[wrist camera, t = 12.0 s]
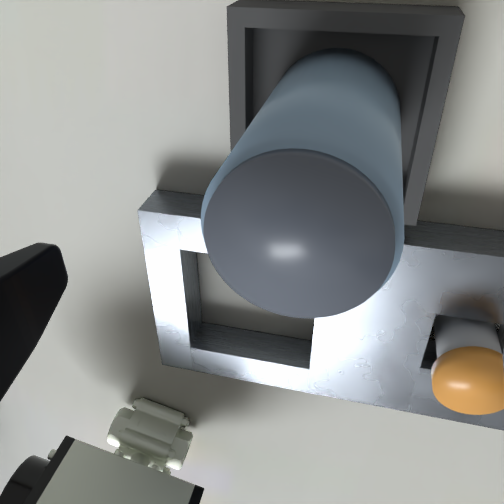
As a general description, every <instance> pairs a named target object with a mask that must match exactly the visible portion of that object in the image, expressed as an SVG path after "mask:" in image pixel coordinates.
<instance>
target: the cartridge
mask: <svg viewBox="0 0 504 504" xmlns="http://www.w3.org/2000/svg"><path fill="white" fill-rule="evenodd" d="M201 228H202V235H203V238H204V242H205V246H206V249H207V253H208V255H209V258H210V260H211V262H212V264H213V266H214V267H215V269H216V271H217V272H218V274H219V275H220V276H221V278H222V279H223V280H224V281H225V282H226V283H227V284H228V285H229V287H230V288H231V289H233V290H234V291H235V292H236V293H237V294H239V295H240V296H241V297H243V298H244V299H246V300H247V301H249V302H250V303H252V304H254V305H256V306H258V307H260V308H262V309H265V310H267V311H270V312H273V313H276V314H279V315H284V316H288V317H295V318H324V317H329V316H334V315H338V314H341V313H344V312H347V311H349V310H351V309H353V308H356V307H357V306H359V305H361V304H362V303H364V302H365V301H367V300H368V299H369V298H370V297H372V296H373V295H374V294H375V293H376V292H377V291H379V290H380V289H381V288H382V287H383V286H384V285H385V284H386V283H387V281H388V280H389V279H390V277H391V276H392V275H393V273H394V272H395V270H396V268H397V266H398V264H399V261H400V258H401V255H402V252H403V246H404V239H405V238H404V205H403V176H402V146H401V116H400V100H399V95H398V91H397V88H396V86H395V84H394V82H393V80H392V78H391V76H390V75H389V73H388V72H387V71H386V70H385V69H384V67H383V66H382V65H381V64H379V63H378V62H377V61H376V60H375V59H373V58H371V57H370V56H368V55H366V54H364V53H361V52H359V51H356V50H352V49H347V48H328V49H322V50H319V51H315V52H313V53H311V54H308V55H306V56H305V57H303V58H301V59H300V60H298V61H297V62H296V63H295V64H293V65H292V66H291V67H290V68H289V69H288V70H287V72H286V73H285V74H284V76H283V77H282V78H281V80H280V81H279V83H278V84H277V86H276V87H275V89H274V90H273V92H272V93H271V94H270V96H269V97H268V99H267V100H266V102H265V103H264V105H263V106H262V108H261V109H260V111H259V112H258V113H257V115H256V116H255V118H254V119H253V121H252V122H251V124H250V125H249V127H248V128H247V129H246V131H245V132H244V134H243V135H242V137H241V138H240V140H239V141H238V143H237V144H236V145H235V147H234V148H233V150H232V151H231V153H230V154H229V156H228V157H227V159H226V160H225V162H224V163H223V164H222V166H221V167H220V169H219V170H218V172H217V173H216V175H215V176H214V178H213V179H212V180H211V182H210V184H209V186H208V188H207V190H206V193H205V196H204V199H203V202H202V209H201Z"/></svg>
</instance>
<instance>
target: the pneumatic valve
mask: <svg viewBox="0 0 504 504" xmlns="http://www.w3.org/2000/svg"><path fill="white" fill-rule="evenodd" d="M132 407H133V408H134V409H136V410H135V411H133V410H131V409H128V408H125V407H124V408H121V409H120V410H119V411H118V413H117V414H116V416H115V418H114V420H113V422H112V424H111V427H110V429H109V432H108V436H107V441H108V443H109V444H111V445H114V446H116V447H119V449H116V451H115V453H114V454H113V453H111V452H108V451H106V450H103V449H100V448H98V447H95V446H92V445H90V444H87V443H85V442H82V441H79V440H77V439H74V438H72V437H69V436H66V437H65V438H64V440H63V441H62V443H61V444H60V446H59V448H58V449H57V451H56V450H54V449H52V450H51V451H50V453H49V455H48V459H50V461H48V460H46V459H43V458H40V457H38V456H35V455H33V456H30V457H29V458H27V459H26V460H25V461H24V462H23V463H22V464H21V465H20V466H19V467H18V469H17V470H16V471H15V473H14V474H13V475H12V477H11V478H10V480H9V481H8V483H7V485H6V486H5V488H4V490H3V492H2V494H1V495H0V504H199V503H200V500H201V497H202V494H203V491H204V488H202V487H200V486H197V485H194V484H192V483H189V482H187V481H184V480H181V479H179V478H176V477H174V476H171V475H170V474H171V472H170V469H169V468H166V467H165V466H169V467H171V468H174V469H177V470H179V469H181V467H182V465H183V462H184V460H185V457H186V454H187V452H188V449H189V446H190V444H191V441H192V438H193V435H192V433H191V432H189V431H186V430H184V429H181V428H180V427H181V426H182V427H184V428H185V427H186V426H188V425H189V422H190V421H188V418H187V417H185V416H184V413H182V412H179V411H176V410H174V409H171V408H168V407H166V406H163V405H160V404H158V403H155V402H152V401H150V400H147V399H144V398H141V399H135V401H134V403H133V406H132ZM192 491H193V492H192Z"/></svg>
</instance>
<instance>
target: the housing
mask: <svg viewBox="0 0 504 504" xmlns="http://www.w3.org/2000/svg"><path fill="white" fill-rule="evenodd" d="M203 199H204V195H196V194H187V193H179V192H170V191H162V190H155V191H154V192H153V193H152V194H151V196H150V197H149V198H148V199H147V200H146V201H145V203H144V204H143V205H142V206H141V207H140V208H139V209H138V216H139V222H140V228H141V235H142V241H143V247H144V253H145V260H146V266H147V272H148V278H149V285H150V291H151V297H152V303H153V310H154V316H155V322H156V328H157V335H158V341H159V347H160V354H161V360H162V365H167V366H172V367H178V368H183V369H188V370H193V371H198V372H204V373H209V374H214V375H219V376H224V377H229V378H235V379H240V380H245V381H250V382H255V383H261V384H266V385H271V386H276V387H281V388H286V389H292V390H297V391H302V392H307V393H312V394H317V395H323V396H328V397H333V398H338V399H343V400H349V401H354V402H359V403H364V404H369V405H374V406H380V407H385V408H390V409H395V410H400V411H406V412H411V413H416V414H421V415H426V416H431V417H437V418H442V419H447V420H452V421H457V422H463V423H468V424H473V425H478V426H483V427H488V428H494V429H499V430H504V409H503V410H501V411H498V412H495V413H491V414H484V415H470V414H464V413H459V412H456V411H453V410H451V409H449V408H447V407H445V406H444V405H442V404H441V403H440V402H439V401H438V400H437V399H436V397H435V395H434V393H433V389H432V378H431V369H432V366H433V363H434V362H435V360H436V359H437V352H436V342H435V341H434V340H428V339H429V336H430V332H431V329H432V326H433V322H434V319H435V316H436V314H438V315H445V316H451V317H458V318H464V319H471V320H477V321H484V322H490V323H497V324H501V325H500V328H499V330H498V332H497V335H498V339H499V343H500V347H501V351H502V354H503V350H504V231H500V230H492V229H483V228H475V227H466V226H458V225H449V224H441V223H433V222H424V221H417V223H416V226H413V225H405V224H404V238H405V239H404V246H403V252H402V255H401V258H400V261H399V264H398V266H397V268H396V270H395V272H394V273H393V275H392V276H391V277H390V279H389V280H388V281H387V283H386V284H385V285H384V286H383V287H382V288H381V289H380V290H379V291H377V292H376V293H375V294H374V295H373V296H372V297H370V298H369V299H368V300H367V301H365V302H364V303H362V304H361V305H359V306H357V307H356V308H353V309H351V310H349V311H347V312H344V313H341V314H338V315H334V316H329V317H324V318H315V321H314V330H313V340H312V341H308V340H302V339H297V338H291V337H285V336H279V335H273V334H267V333H262V332H256V331H250V330H244V329H238V328H233V327H227V326H221V325H215V324H209V323H203V322H202V315H201V303H200V291H199V279H198V267H197V255H196V252H202V253H207V249H206V246H205V242H204V238H203V235H202V228H201V209H202V202H203Z"/></svg>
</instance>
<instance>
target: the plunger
mask: <svg viewBox="0 0 504 504" xmlns="http://www.w3.org/2000/svg"><path fill="white" fill-rule="evenodd" d="M434 332H435V342H436V352H437V359H436V360H435V362H434V363H433V366H432V369H431V378H432V389H433V393H434V395H435V397H436V399H437V400H438V401H439V402H440V403H441V404H442V405H444V406H445V407H447V408H449V409H451V410H453V411H456V412H459V413H464V414H470V415H484V414H491V413H495V412H498V411H501V410H503V409H504V367H503V354H502V351H501V347H500V343H499V339H498V335H497V331H496V327H495V323H490V322H484V321H477V320H471V319H464V318H458V317H451V316H445V315H437V316H436V318H435V320H434Z"/></svg>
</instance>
